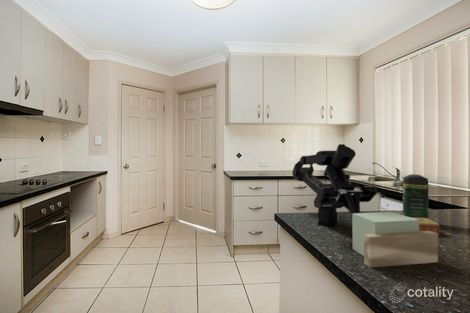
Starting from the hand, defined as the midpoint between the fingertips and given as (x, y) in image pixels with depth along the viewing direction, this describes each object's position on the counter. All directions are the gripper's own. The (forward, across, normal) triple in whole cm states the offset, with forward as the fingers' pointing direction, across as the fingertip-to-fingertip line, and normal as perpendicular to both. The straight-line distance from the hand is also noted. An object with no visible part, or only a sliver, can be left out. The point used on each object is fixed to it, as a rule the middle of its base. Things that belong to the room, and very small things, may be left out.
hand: (358, 217), depth 76 cm
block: (+13, 0, +3) cm, 13 cm away
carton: (+1, -23, -10) cm, 25 cm away
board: (+16, 0, +7) cm, 18 cm away
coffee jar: (-5, -34, -15) cm, 37 cm away
